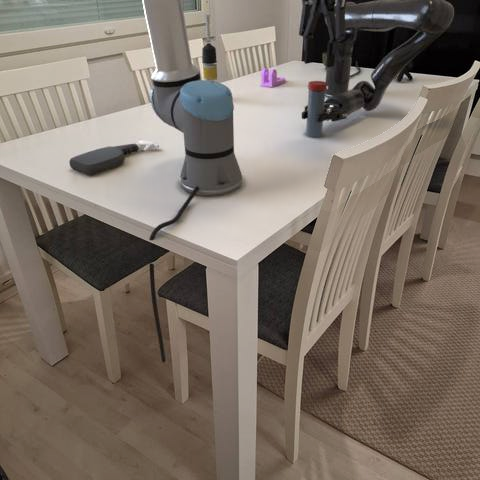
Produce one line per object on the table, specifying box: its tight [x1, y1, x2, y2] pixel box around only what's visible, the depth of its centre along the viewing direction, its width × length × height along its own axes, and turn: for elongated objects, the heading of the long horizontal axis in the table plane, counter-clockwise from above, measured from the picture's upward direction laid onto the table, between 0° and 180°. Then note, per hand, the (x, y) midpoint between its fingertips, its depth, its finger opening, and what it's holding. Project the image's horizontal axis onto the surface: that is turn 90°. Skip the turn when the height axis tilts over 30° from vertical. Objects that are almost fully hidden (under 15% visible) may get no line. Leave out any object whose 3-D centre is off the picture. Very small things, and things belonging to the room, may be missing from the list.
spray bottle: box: [68, 139, 160, 177], centre depth 124 cm, size 3×11×24 cm
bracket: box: [260, 67, 286, 88], centre depth 197 cm, size 13×6×7 cm, turn 143°
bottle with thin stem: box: [201, 14, 218, 82], centre depth 171 cm, size 6×6×30 cm
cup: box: [322, 51, 327, 71], centre depth 219 cm, size 8×7×8 cm
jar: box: [305, 89, 326, 138], centre depth 136 cm, size 5×5×15 cm
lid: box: [307, 80, 327, 91], centre depth 132 cm, size 5×5×2 cm
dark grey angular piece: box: [394, 59, 414, 83], centre depth 198 cm, size 11×10×15 cm
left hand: (319, 64), depth 129 cm, fingers open, 7 cm apart
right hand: (310, 117), depth 135 cm, fingers closed on jar, 5 cm apart
